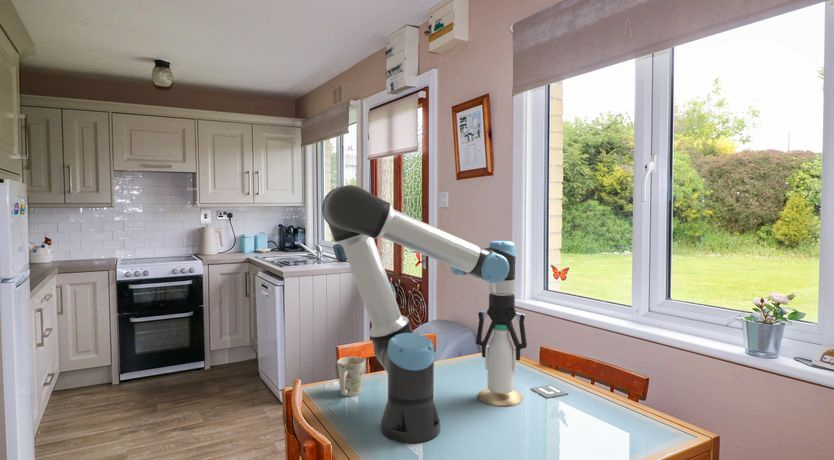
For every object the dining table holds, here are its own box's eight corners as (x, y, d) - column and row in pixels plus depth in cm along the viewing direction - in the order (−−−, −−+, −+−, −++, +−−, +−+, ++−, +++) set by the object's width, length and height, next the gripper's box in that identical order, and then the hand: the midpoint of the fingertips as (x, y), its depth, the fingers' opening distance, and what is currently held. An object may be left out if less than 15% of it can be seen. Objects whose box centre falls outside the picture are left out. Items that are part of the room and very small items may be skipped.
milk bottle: (515, 394, 144) (516, 326, 143) (489, 394, 144) (490, 326, 143) (511, 385, 152) (512, 320, 151) (485, 384, 152) (486, 320, 151)
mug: (367, 388, 154) (367, 357, 154) (358, 404, 142) (358, 370, 142) (341, 387, 155) (341, 356, 155) (330, 403, 143) (330, 369, 142)
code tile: (547, 398, 147) (547, 396, 147) (530, 389, 155) (530, 387, 155) (568, 394, 151) (568, 392, 151) (551, 385, 158) (551, 384, 158)
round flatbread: (493, 409, 139) (493, 407, 139) (470, 393, 151) (470, 391, 151) (531, 402, 145) (531, 400, 144) (506, 387, 156) (506, 385, 156)
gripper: (537, 292, 147) (536, 368, 148) (470, 289, 153) (469, 362, 154) (536, 297, 140) (535, 376, 141) (465, 293, 146) (464, 370, 147)
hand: (500, 369), depth 147 cm, fingers closed on milk bottle, 7 cm apart
